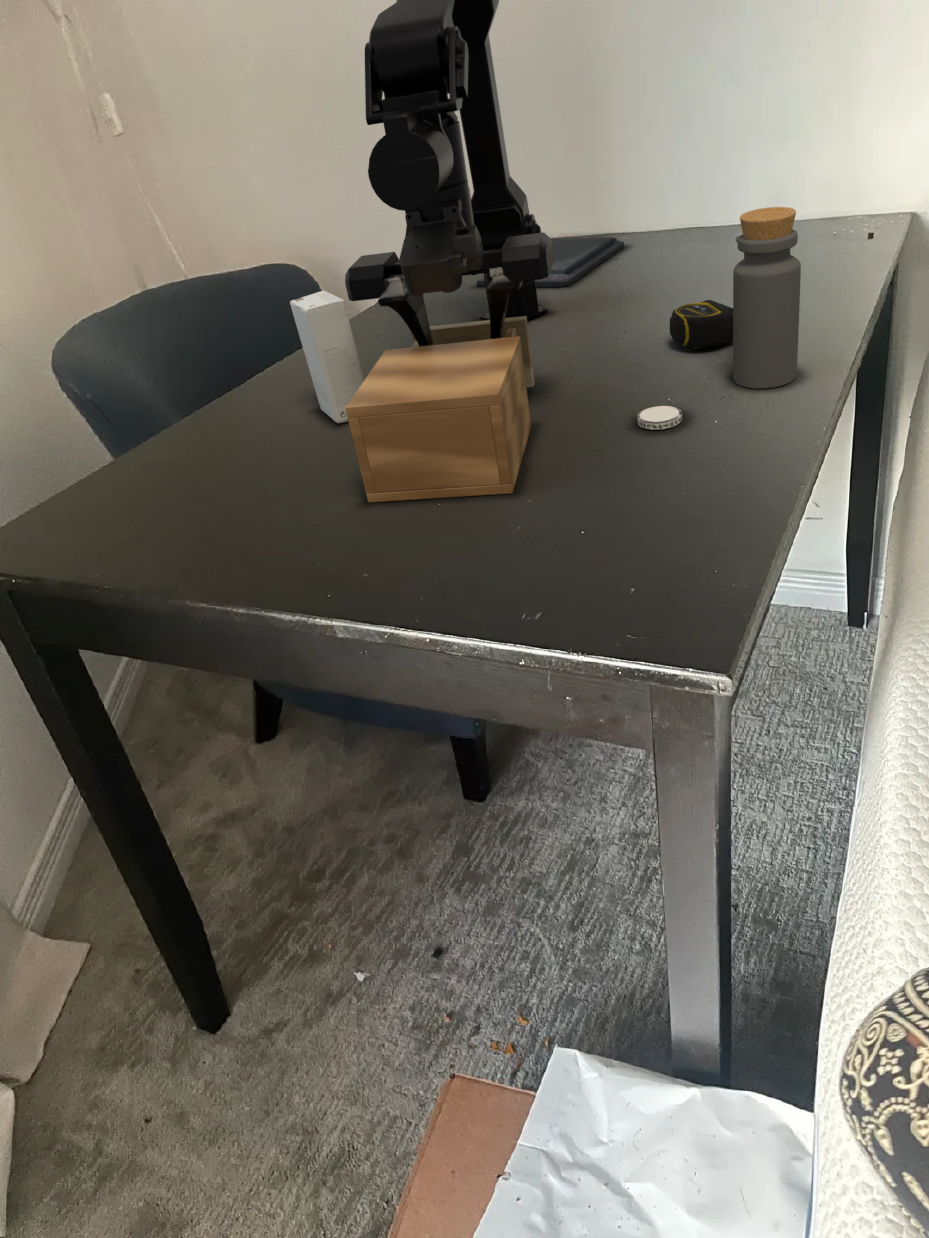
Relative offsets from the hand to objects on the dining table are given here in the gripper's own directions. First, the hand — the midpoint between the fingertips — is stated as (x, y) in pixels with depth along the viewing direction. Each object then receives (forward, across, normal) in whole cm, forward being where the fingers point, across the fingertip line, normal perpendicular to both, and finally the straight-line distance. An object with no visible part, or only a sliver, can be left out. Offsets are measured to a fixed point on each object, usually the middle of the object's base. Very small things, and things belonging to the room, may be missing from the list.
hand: (463, 358), depth 91 cm
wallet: (+6, +3, +54) cm, 55 cm away
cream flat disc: (+6, +18, -5) cm, 20 cm away
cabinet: (+6, 0, -11) cm, 12 cm away
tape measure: (+6, +23, +15) cm, 29 cm away
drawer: (+5, 0, +1) cm, 5 cm away
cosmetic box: (+6, -15, +4) cm, 17 cm away
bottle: (+6, +28, +3) cm, 29 cm away
